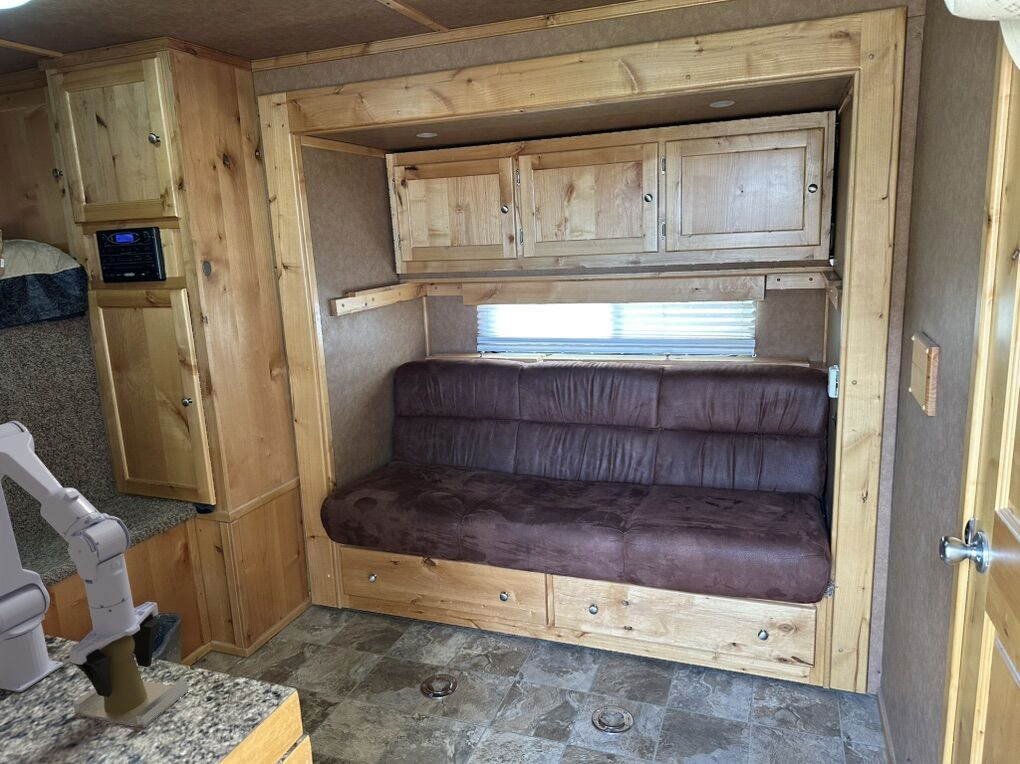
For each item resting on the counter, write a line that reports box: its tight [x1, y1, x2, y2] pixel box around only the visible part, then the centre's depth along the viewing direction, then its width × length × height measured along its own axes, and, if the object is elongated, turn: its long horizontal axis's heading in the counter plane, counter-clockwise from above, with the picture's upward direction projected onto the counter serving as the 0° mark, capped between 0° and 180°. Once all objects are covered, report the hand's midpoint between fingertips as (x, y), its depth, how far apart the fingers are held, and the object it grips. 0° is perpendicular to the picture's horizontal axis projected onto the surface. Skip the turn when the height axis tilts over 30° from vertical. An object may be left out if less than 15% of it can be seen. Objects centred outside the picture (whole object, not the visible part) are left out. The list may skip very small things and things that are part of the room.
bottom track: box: [72, 679, 190, 729], centre depth 113 cm, size 14×9×2 cm, turn 71°
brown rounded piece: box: [100, 635, 147, 714], centre depth 112 cm, size 6×6×11 cm
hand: (125, 679), depth 112 cm, fingers open, 7 cm apart
